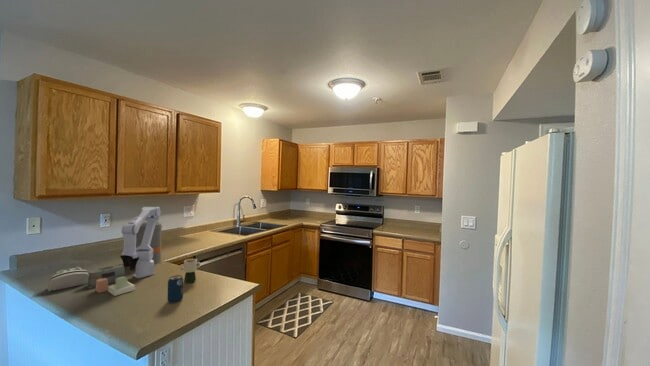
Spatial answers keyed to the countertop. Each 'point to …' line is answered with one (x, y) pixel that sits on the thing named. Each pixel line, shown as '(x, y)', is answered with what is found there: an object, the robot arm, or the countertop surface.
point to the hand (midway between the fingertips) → (129, 268)
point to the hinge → (68, 279)
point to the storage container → (154, 242)
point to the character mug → (190, 269)
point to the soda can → (175, 289)
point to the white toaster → (69, 270)
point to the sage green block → (121, 282)
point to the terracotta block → (102, 285)
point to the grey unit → (105, 274)
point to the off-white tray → (123, 290)
